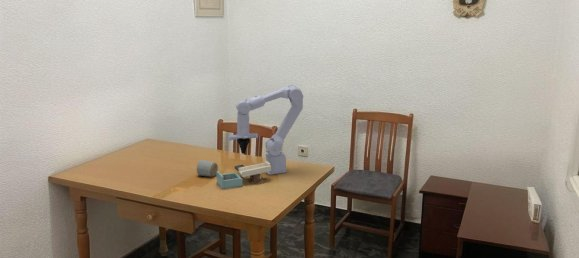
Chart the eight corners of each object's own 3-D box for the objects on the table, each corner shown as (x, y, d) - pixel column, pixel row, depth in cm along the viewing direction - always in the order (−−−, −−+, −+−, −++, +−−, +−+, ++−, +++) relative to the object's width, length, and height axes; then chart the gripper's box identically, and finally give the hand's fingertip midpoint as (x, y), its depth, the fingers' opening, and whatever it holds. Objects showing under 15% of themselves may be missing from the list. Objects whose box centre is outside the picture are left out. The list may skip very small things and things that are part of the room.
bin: (236, 180, 234) (236, 168, 232) (242, 186, 226) (242, 173, 225) (216, 183, 230) (216, 171, 229) (222, 189, 222) (221, 176, 221)
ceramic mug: (211, 179, 235) (211, 163, 234) (196, 177, 238) (196, 161, 236) (221, 172, 245) (221, 157, 244) (207, 170, 248) (206, 156, 246)
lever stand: (258, 177, 238) (257, 169, 237) (264, 182, 231) (263, 174, 230) (246, 179, 235) (246, 171, 234) (251, 184, 228) (251, 176, 227)
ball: (223, 174, 228) (221, 182, 228) (225, 176, 224) (224, 185, 225) (231, 174, 230) (230, 182, 230) (234, 177, 226) (232, 185, 227)
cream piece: (260, 162, 244) (260, 155, 243) (271, 171, 232) (270, 163, 231) (233, 168, 239) (233, 161, 238) (242, 177, 227) (242, 169, 226)
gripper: (231, 129, 231) (231, 157, 234) (260, 126, 237) (260, 154, 240) (226, 125, 237) (226, 153, 240) (255, 123, 243) (255, 150, 246)
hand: (243, 153), depth 241 cm, fingers closed
